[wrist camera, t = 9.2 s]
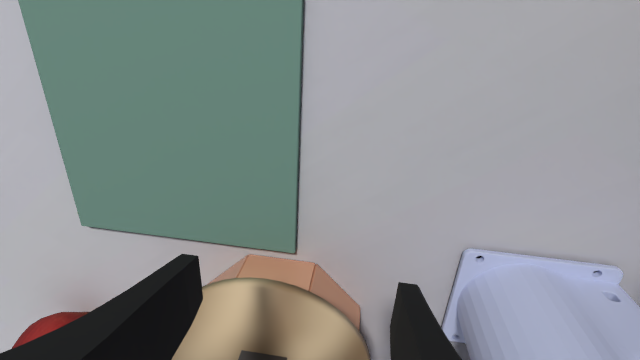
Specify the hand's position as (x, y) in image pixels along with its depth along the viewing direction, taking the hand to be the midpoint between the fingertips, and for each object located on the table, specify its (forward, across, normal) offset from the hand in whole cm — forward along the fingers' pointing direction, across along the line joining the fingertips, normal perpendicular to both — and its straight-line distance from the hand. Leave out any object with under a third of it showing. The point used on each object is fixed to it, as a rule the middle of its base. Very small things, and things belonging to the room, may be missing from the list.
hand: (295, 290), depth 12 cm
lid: (+6, +3, +12) cm, 14 cm away
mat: (+10, +10, -2) cm, 15 cm away
